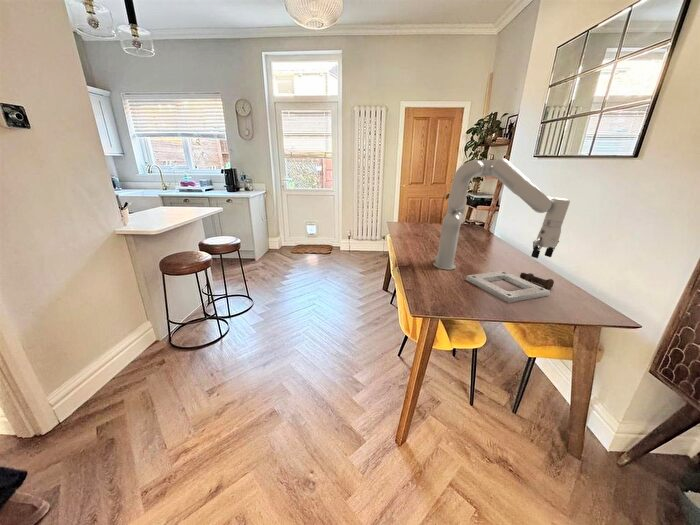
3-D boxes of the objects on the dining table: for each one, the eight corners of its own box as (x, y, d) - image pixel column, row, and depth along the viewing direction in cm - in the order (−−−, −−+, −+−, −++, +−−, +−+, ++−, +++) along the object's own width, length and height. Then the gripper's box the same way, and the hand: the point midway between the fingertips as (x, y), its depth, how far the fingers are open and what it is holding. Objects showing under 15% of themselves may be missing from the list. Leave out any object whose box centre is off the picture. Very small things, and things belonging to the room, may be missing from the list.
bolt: (520, 281, 149) (549, 291, 137) (516, 278, 147) (545, 288, 134) (525, 271, 149) (555, 281, 136) (522, 268, 146) (551, 278, 134)
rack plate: (465, 279, 143) (466, 275, 142) (502, 274, 152) (503, 270, 151) (508, 302, 120) (509, 297, 119) (548, 295, 129) (550, 290, 128)
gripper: (547, 226, 126) (536, 260, 132) (572, 225, 132) (559, 258, 138) (532, 222, 132) (522, 255, 138) (556, 221, 138) (545, 253, 144)
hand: (541, 256), depth 138 cm, fingers open, 9 cm apart
